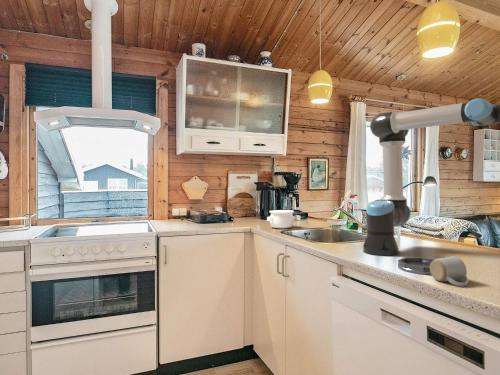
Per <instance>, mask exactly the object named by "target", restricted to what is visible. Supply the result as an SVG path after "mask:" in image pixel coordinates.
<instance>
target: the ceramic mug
mask: <svg viewBox="0 0 500 375" xmlns="http://www.w3.org/2000/svg"><path fill="white" fill-rule="evenodd" d="M435 259H436V260H433V261H432V262H431V264H430V272H431V275H430V276H432V277H433V279H434V280H435V281H438V282H443V283H444V282H445V283H447V282H448V283H449V284H452V285H453V286H456V287H466V286H467V285H468V283H469V278H468V276H467V272H468V271H467V267H466V264H465V262H464V261H463V260H462V259H461V258H460V257H458V256H455V255H452V256H446V257H441V258H435ZM463 280H464V281H465V282H460V281H463Z"/></svg>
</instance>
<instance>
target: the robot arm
mask: <svg viewBox="0 0 500 375" xmlns="http://www.w3.org/2000/svg"><path fill="white" fill-rule="evenodd" d="M463 123H471V125H473V126H474V127H477V126H481V127H482V126H483V127H484V126H487V125H488V126H489V125H496V124H500V103H497V104H493V103H492V102H490V101H489V100H487V99H484V98H474V99H472V100H470V101H467V102H466V101H465V102H461V103H453V104H447V105H442V106H441V105H440V106H436V107H435V106H434V107H428V108H422V109H416V110H409V111H402V112H398V111H396V110H394V111H388V112H387V111H386V112H380V113H378V114H376V115H374V117H373V118H371V121H370V125H369V129H370V132H371V133H372V134H373V136H375V137H377V138H378V140H379V142H378V143H379V145H380V146H381V147H382V167H383V170H382V171H383V173H382V174H383V196H382V197H381V198H380V200H374V201H370V202H368V203H367V204H366V211H365V212H366V236H365V240H364V243H363V246H362V248H363V249H362V252H363V253H364V254H368V255H374V256H396V255H398V254H399V246H398V244H397V241H396V238H395V227H397V228H398V227H401V226H403V225H404V224H406V223H408V222H409V220H410V218H411V212H412V211H411V209H410V207H409V206H408V203H407V198H406V197H405V196H404V182H403V180H404V179H403V178H404V177H403V145H405V143H406V136H407V135H408V133H409V131H410V130H412V129H421V128H430V127H431V128H432V127H440V126H447V125H456V124H463Z"/></svg>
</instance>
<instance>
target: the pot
mask: <svg viewBox="0 0 500 375" xmlns="http://www.w3.org/2000/svg"><path fill="white" fill-rule="evenodd" d="M294 212H295V211H294V210H292V209H291V210H289V209H277V210H276V209H275V210H269V212H268V213H270V215H269V216H267V217H266V221H267V222H269V224H270V227H271V228H274V229H289V228H292V227H293V225H294V221H295V220H296V216H295V215H293V214H294Z"/></svg>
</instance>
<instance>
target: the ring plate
mask: <svg viewBox="0 0 500 375" xmlns="http://www.w3.org/2000/svg"><path fill="white" fill-rule="evenodd" d="M436 259H437V258H427V257H421V256H420V257H419V256H416V257H415V256H414V257H411V256H410V257H407V256H405V257H404V256H403V258H399V259H398V260H397V268H398V269H399V270H401V271H404V272H407V273H410V274H411V273H412V274H415V275H416V274H417V275H423V276H424V275H425V276H432V275H431V272H430V264H431V262H432V261H433V260H436Z"/></svg>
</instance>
